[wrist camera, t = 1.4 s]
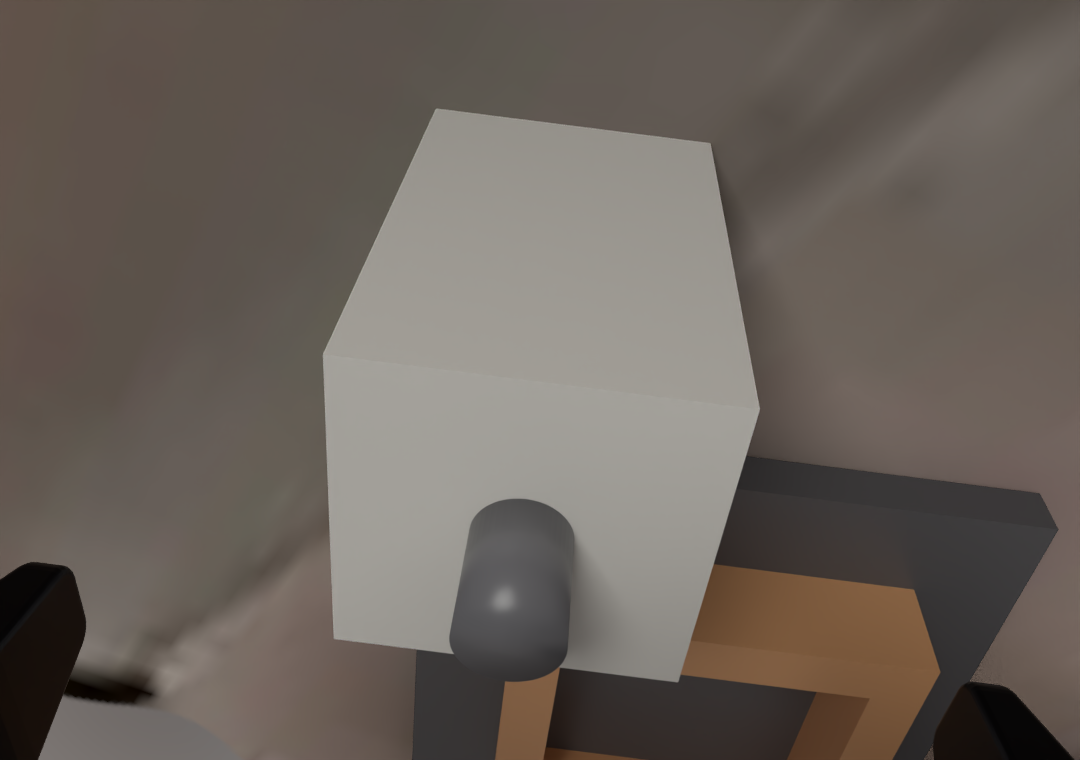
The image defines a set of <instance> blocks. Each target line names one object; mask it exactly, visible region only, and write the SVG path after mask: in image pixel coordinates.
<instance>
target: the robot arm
mask: <svg viewBox="0 0 1080 760" xmlns="http://www.w3.org/2000/svg"><path fill="white" fill-rule="evenodd" d="M85 632H86V618H85V614H84V610H83V606H82V602H81V599H80V595H79V591H78V587H77V584H76V580H75V576H74V574H73V572H72V571H71V570H70V569H69V568H68V567H66V566H62V565H54V564H47V563H39V562H30V563H27V564H24V565H22V566H20V567H18V568H17V569H15V570H14V571H12V572H11V573H9V574H8V575H6V576H5V577H3V578H2V579H0V760H38V758H39V756H40V753H41V750H42V748H43V745H44V743H45V740H46V738H47V735H48V732H49V730H50V727H51V724H52V722H53V719H54V717H55V714H56V712H57V709H58V706H59V704H60V701H61V699H62V696H63V693H64V691H65V688H66V686H67V683H68V680H69V678H70V675H71V673H72V670H73V667H74V665H75V662H76V660H77V657H78V654H79V652H80V649H81V647H82V644H83V641H84V637H85ZM933 752H934V760H1074V758H1073V757H1072V756H1071V755H1070V754H1069V753H1068V752H1067V751H1066V750H1065V748H1064V747H1063V746H1062V745H1061V744H1060V743H1059V742H1058V741H1057V740H1056V738H1055V737H1054V736H1053V735H1052V734H1051V733H1050V732H1049V731H1048V730H1047V728H1046V727H1045V726H1044V725H1043V724H1042V723H1041V722H1040V721H1039V720H1038V719H1037V717H1036V716H1035V715H1034V714H1033V713H1032V712H1031V711H1030V710H1029V709H1028V707H1027V706H1026V705H1025V704H1024V703H1023V702H1022V701H1021V700H1020V699H1019V697H1018V696H1017V695H1016V694H1015V693H1014V692H1012V691H1011V690H1010V689H1008V688H1006V687H1004V686H1001V685H995V684H987V683H979V682H967V683H965V684H963V685H962V686H961V687H960V688H959V690H958V691H957V693H956V695H955V696H954V698H953V700H952V702H951V703H950V705H949V707H948V708H947V710H946V712H945V714H944V715H943V717H942V719H941V721H940V722H939V724H938V726H937V728H936V731H935V735H934V741H933Z"/></svg>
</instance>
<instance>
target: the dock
mask: <svg viewBox="0 0 1080 760" xmlns="http://www.w3.org/2000/svg"><path fill="white" fill-rule="evenodd" d="M1057 531H1058V528H1057V526H1056V524H1055V522H1054V520H1053V518H1052V516H1051V514H1050V512H1049V510H1048V508H1047V506H1046V505H1045V503H1044V501H1043V499H1042V497H1041V495H1040V494H1039V493H1031V492H1023V491H1015V490H1008V489H1000V488H992V487H984V486H976V485H968V484H960V483H952V482H944V481H936V480H929V479H921V478H913V477H905V476H897V475H889V474H881V473H873V472H865V471H857V470H850V469H842V468H834V467H826V466H818V465H810V464H802V463H794V462H786V461H779V460H771V459H763V458H755V457H747V456H746V458H745V461H744V464H743V468H742V471H741V474H740V478H739V481H738V484H737V488H736V491H735V494H734V498H733V501H732V504H731V508H730V511H729V514H728V518H727V521H726V524H725V528H724V531H723V534H722V538H721V541H720V544H719V548H718V551H717V554H716V558H715V561H714V564H713V568H712V571H711V574H710V578H709V581H708V584H707V588H706V591H705V594H704V598H703V601H702V604H701V608H700V611H699V614H698V618H697V621H696V624H695V628H694V631H693V634H692V638H691V641H690V644H689V648H688V651H687V654H686V658H685V661H684V664H683V668H682V671H681V674H680V678H679V681H678V682H671V681H663V680H655V679H647V678H639V677H631V676H623V675H615V674H607V673H600V672H592V671H584V670H576V669H568V668H560V667H558V668H557V669H556V670H555V671H553V672H552V673H550V674H548V675H546V676H544V677H541V678H538V679H535V680H530V681H523V682H507V681H499V680H494V679H490V678H487V677H484V676H482V675H479V674H477V673H475V672H473V671H472V670H470V669H468V668H467V667H466V666H464V665H463V664H462V663H461V662H460V661H459V660H458V659H457V658H456V657H455V655H454V654H449V653H441V652H433V651H425V650H418V649H417V657H416V682H415V706H414V731H413V755H412V760H924V758H925V756H926V755H927V753H928V751H929V749H930V748H931V746H932V744H933V741H934V735H935V731H936V728H937V726H938V724H939V722H940V721H941V719H942V717H943V715H944V714H945V712H946V710H947V708H948V707H949V705H950V703H951V702H952V700H953V698H954V696H955V695H956V693H957V691H958V690H959V688H960V687H961V686H962V685H963V684H965V683H967V682H969V681H970V679H971V678H972V676H973V674H974V673H975V671H976V669H977V668H978V666H979V664H980V662H981V661H982V659H983V657H984V656H985V654H986V652H987V651H988V649H989V647H990V645H991V644H992V642H993V640H994V639H995V637H996V635H997V633H998V632H999V630H1000V628H1001V627H1002V625H1003V623H1004V622H1005V620H1006V618H1007V616H1008V615H1009V613H1010V611H1011V610H1012V608H1013V606H1014V604H1015V603H1016V601H1017V599H1018V598H1019V596H1020V594H1021V593H1022V591H1023V589H1024V587H1025V586H1026V584H1027V582H1028V581H1029V579H1030V577H1031V576H1032V574H1033V572H1034V570H1035V569H1036V567H1037V565H1038V564H1039V562H1040V560H1041V558H1042V557H1043V555H1044V553H1045V552H1046V550H1047V548H1048V547H1049V545H1050V543H1051V541H1052V540H1053V538H1054V536H1055V535H1056V533H1057Z"/></svg>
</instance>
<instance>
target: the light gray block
mask: <svg viewBox="0 0 1080 760" xmlns="http://www.w3.org/2000/svg"><path fill="white" fill-rule="evenodd" d="M323 367H324V394H325V420H326V447H327V473H328V500H329V526H330V553H331V579H332V606H333V632H334V639H338V640H346V641H354V642H362V643H370V644H378V645H386V646H394V647H402V648H410V649H418V650H425V651H433V652H441V653H449V654H454V655H455V657H456V658H457V659H458V660H459V661H460V662H461V663H462V664H463V665H464V666H466V667H467V668H468V669H470V670H472V671H473V672H475V673H477V674H479V675H482V676H484V677H487V678H490V679H494V680H499V681H507V682H523V681H530V680H535V679H538V678H541V677H544V676H546V675H548V674H550V673H552V672H553V671H555V670H556V669H557V668H558V667H560V668H568V669H576V670H584V671H592V672H600V673H607V674H615V675H623V676H631V677H639V678H647V679H655V680H663V681H671V682H678V681H679V678H680V674H681V671H682V668H683V664H684V661H685V658H686V654H687V651H688V648H689V644H690V641H691V638H692V634H693V631H694V628H695V624H696V621H697V618H698V614H699V611H700V608H701V604H702V601H703V598H704V594H705V591H706V588H707V584H708V581H709V578H710V574H711V571H712V568H713V564H714V561H715V558H716V554H717V551H718V548H719V544H720V541H721V538H722V534H723V531H724V528H725V524H726V521H727V518H728V514H729V511H730V508H731V504H732V501H733V498H734V494H735V491H736V488H737V484H738V481H739V478H740V474H741V471H742V468H743V464H744V461H745V458H746V454H747V451H748V448H749V444H750V441H751V438H752V434H753V431H754V428H755V424H756V421H757V418H758V414H759V411H760V407H759V402H758V396H757V391H756V386H755V380H754V375H753V369H752V364H751V359H750V353H749V348H748V343H747V337H746V332H745V326H744V321H743V316H742V310H741V305H740V299H739V294H738V289H737V283H736V278H735V273H734V267H733V262H732V256H731V251H730V246H729V240H728V235H727V229H726V224H725V219H724V213H723V208H722V202H721V197H720V192H719V186H718V181H717V176H716V170H715V165H714V159H713V154H712V149H711V143H704V142H696V141H688V140H680V139H673V138H665V137H657V136H649V135H641V134H633V133H625V132H617V131H609V130H601V129H594V128H586V127H578V126H570V125H562V124H554V123H546V122H538V121H530V120H522V119H515V118H507V117H499V116H491V115H483V114H475V113H467V112H459V111H451V110H443V109H436V110H435V112H434V114H433V116H432V118H431V121H430V123H429V125H428V127H427V129H426V131H425V134H424V136H423V138H422V140H421V142H420V144H419V147H418V149H417V151H416V153H415V155H414V157H413V160H412V162H411V164H410V166H409V168H408V171H407V173H406V175H405V177H404V179H403V181H402V184H401V186H400V188H399V190H398V192H397V194H396V197H395V199H394V201H393V203H392V205H391V208H390V210H389V212H388V214H387V216H386V218H385V221H384V223H383V225H382V227H381V229H380V231H379V234H378V236H377V238H376V240H375V242H374V244H373V247H372V249H371V251H370V253H369V255H368V258H367V260H366V262H365V264H364V266H363V268H362V271H361V273H360V275H359V277H358V279H357V281H356V284H355V286H354V288H353V290H352V292H351V295H350V297H349V299H348V301H347V303H346V305H345V308H344V310H343V312H342V314H341V316H340V318H339V321H338V323H337V325H336V327H335V329H334V331H333V334H332V336H331V338H330V340H329V342H328V345H327V347H326V349H325V351H324V353H323Z"/></svg>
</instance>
